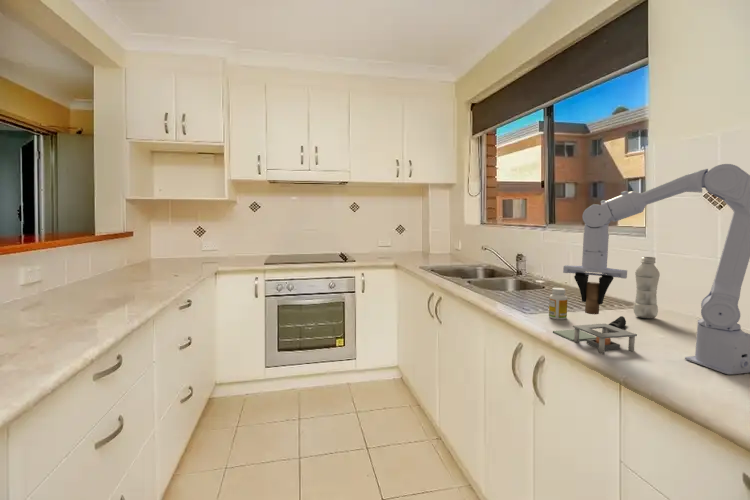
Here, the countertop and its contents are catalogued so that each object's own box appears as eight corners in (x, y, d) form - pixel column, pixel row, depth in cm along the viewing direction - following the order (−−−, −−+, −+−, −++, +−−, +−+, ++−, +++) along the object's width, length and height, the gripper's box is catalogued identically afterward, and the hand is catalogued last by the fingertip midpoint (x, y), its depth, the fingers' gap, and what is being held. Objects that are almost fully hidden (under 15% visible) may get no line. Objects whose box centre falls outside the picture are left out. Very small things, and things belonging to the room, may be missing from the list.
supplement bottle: (567, 317, 128) (568, 288, 128) (565, 320, 124) (567, 290, 123) (549, 314, 131) (550, 286, 130) (547, 318, 127) (548, 289, 126)
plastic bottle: (662, 320, 124) (666, 258, 122) (638, 320, 125) (642, 258, 123) (650, 315, 130) (654, 256, 128) (628, 315, 131) (632, 256, 129)
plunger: (613, 347, 98) (613, 339, 98) (602, 347, 98) (602, 340, 98) (603, 343, 102) (603, 335, 101) (592, 343, 101) (593, 336, 101)
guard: (636, 351, 96) (637, 334, 96) (601, 353, 94) (602, 337, 93) (604, 338, 106) (605, 323, 105) (572, 341, 104) (573, 325, 103)
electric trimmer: (629, 326, 119) (629, 316, 118) (617, 337, 107) (618, 326, 107) (615, 324, 121) (615, 314, 121) (602, 334, 110) (602, 324, 110)
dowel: (600, 312, 103) (601, 282, 102) (597, 315, 100) (598, 284, 100) (586, 310, 105) (588, 281, 104) (583, 312, 102) (585, 283, 102)
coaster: (598, 339, 105) (598, 337, 105) (572, 341, 104) (572, 339, 104) (577, 330, 113) (577, 329, 113) (552, 332, 111) (553, 330, 111)
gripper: (560, 250, 103) (558, 300, 104) (625, 254, 93) (621, 309, 95) (568, 248, 108) (565, 296, 109) (629, 252, 99) (626, 304, 100)
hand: (592, 302), depth 102 cm, fingers closed on dowel, 3 cm apart
